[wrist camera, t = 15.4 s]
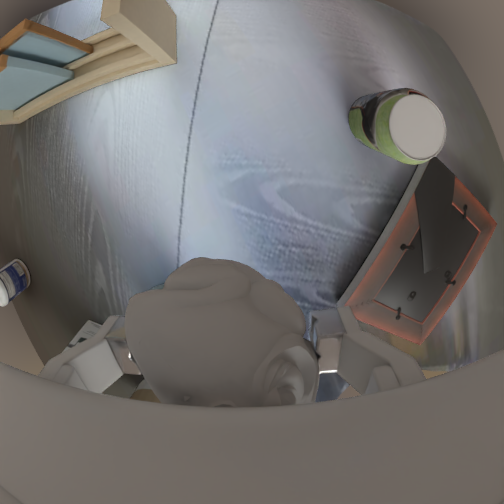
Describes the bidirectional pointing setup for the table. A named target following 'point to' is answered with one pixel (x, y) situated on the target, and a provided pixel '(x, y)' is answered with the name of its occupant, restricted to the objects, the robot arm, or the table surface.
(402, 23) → the table surface
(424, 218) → the picture frame
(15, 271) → the pill bottle
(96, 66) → the window frame
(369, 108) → the beverage can
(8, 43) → the window pane
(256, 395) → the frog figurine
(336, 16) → the table surface
